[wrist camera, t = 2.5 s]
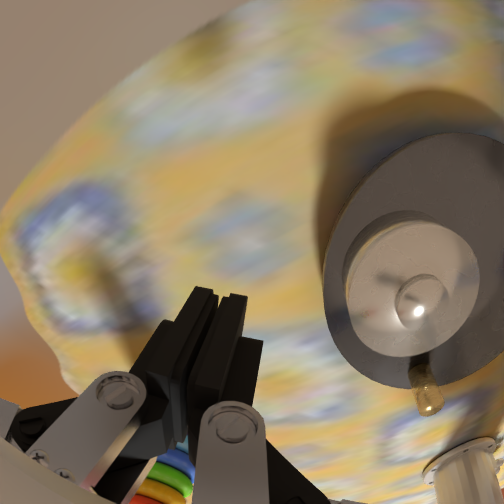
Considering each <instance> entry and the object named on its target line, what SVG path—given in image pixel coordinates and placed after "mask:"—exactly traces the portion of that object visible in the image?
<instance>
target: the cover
mask: <svg viewBox="0 0 504 504" xmlns="http://www.w3.org/2000/svg"><path fill="white" fill-rule="evenodd" d="M479 279H480V275H479V267H478V263H477V259H476V257H475V254H474V252H473V251H472V249H471V247H470V246H469V245H468V243H467V242H466V241H465V240H464V239H463V238H461V237H460V236H459V235H458V234H456V233H455V232H453V231H452V230H451V229H449V228H448V227H447V226H445V225H444V224H442V223H441V222H439V221H438V220H437V219H435V218H434V217H432V216H430V215H428V214H426V213H423V212H420V211H415V210H399V211H394V212H390V213H387V214H385V215H382V216H380V217H378V218H377V219H375V220H373V221H372V222H370V223H369V224H368V225H366V226H365V227H364V228H363V229H362V230H361V231H360V232H359V234H358V235H357V236H356V237H355V238H354V240H353V242H352V243H351V245H350V247H349V249H348V251H347V253H346V256H345V259H344V262H343V267H342V285H343V290H344V294H345V298H346V303H347V307H348V311H349V316H350V320H351V323H352V326H353V329H354V331H355V333H356V334H357V336H358V337H359V339H360V340H361V341H362V342H363V343H364V344H365V345H366V346H368V347H369V348H371V349H372V350H374V351H376V352H378V353H381V354H384V355H387V356H393V357H406V356H413V355H418V354H421V353H424V352H427V351H429V350H432V349H434V348H435V347H437V346H439V345H441V344H442V343H444V342H445V341H447V340H448V339H449V338H450V337H451V336H453V335H454V334H455V333H456V332H457V331H458V330H459V328H460V327H461V326H462V325H463V323H464V322H465V321H466V319H467V318H468V316H469V314H470V312H471V311H472V309H473V306H474V304H475V301H476V298H477V294H478V290H479Z"/></svg>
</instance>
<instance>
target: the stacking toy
mask: <svg viewBox="0 0 504 504" xmlns="http://www.w3.org/2000/svg"><path fill="white" fill-rule="evenodd" d="M194 477H195V467H194V466H193V464H192V463H191V462H190V460H189V454H188V433H187V436H186V439H185V441H184V443H180V442H177V445H176V448H175V450H172V449H168V451H167V453H165V454H162V455H159V456H157V460H156V462H155V464H154V465H153V467H152V468H151V470H150V472H149V473H148V475H147V476H146V478H145V479H144V481H143V483H142V484H141V486H140V487H139V489H138V490H137V492H136V493H135V495H134V496H133V498H132V499H131V501H130V503H129V504H186V501H185V499H184V498H185V497H188V496H189V495H190V494H191V493H192V490H193V485H192V484H193V483H194Z"/></svg>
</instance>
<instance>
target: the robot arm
mask: <svg viewBox="0 0 504 504" xmlns="http://www.w3.org/2000/svg"><path fill="white" fill-rule="evenodd" d="M247 299H248V296H243V295H238V294H233V293H230V296H229V297H225V296H223V298H222V300H221V302H220V305H219V307H218V300H219V296H218V295H215V294H213V289H208V288H203V287H198V286H196V287H195V288H194V290H193V291H192V293H191V294H190V296H189V298H188V299H187V301H186V303H185V304H184V306H183V308H182V309H181V311H180V313H179V314H178V316H177V317H176V319H175V321H174V322H173V321H169V320H163V321H162V322H161V323H160V325H159V326H158V328H157V329H156V331H155V332H154V334H153V335H152V337H151V338H150V340H149V341H148V343H147V344H146V346H145V348H144V349H143V351H142V352H141V354H140V355H139V357H138V359H137V360H136V362H135V363H134V365H133V366H132V368H131V370H130V371H129V373H128V372H123V371H113V372H108V373H105V374H103V375H101V376H99V377H98V378H97V379H95V380H94V381H93V382H92V383H91V384H90V385H89V387H88V388H87V389H86V390H85V391H84V392H83V393H82V394H81V395H80V396H79V397H76V398H72V399H68V400H63V401H59V402H54V403H49V404H45V405H39V406H34V407H29V408H26V409H21V407H20V405H17V404H15V403H12V402H9V401H6V400H4V399H1V398H0V504H129V503H130V501H131V499H132V498H133V496H134V495H135V493H136V492H137V490H138V489H139V487H140V486H141V484H142V483H143V481H144V479H145V478H146V476H147V475H148V473H149V472H150V470H151V468H152V467H153V465H154V464H155V462H156V460H157V456H159V455H162V454H165V453H167V451H168V449H172V450H175V448H176V445H177V442H180V443H184V441H185V439H186V436H187V433H188V454H189V460H190V462H191V463H192V464H193V466H194V467H195V477H194V486H193V496H192V504H366V503H360V502H354V501H349V500H344V499H342V500H341V501H335V500H331V499H328V498H327V497H326V496H325V495H324V494H323V493H322V492H321V491H320V490H319V489H317V488H316V487H315V486H314V485H313V484H312V483H311V482H310V481H309V480H308V479H306V478H305V477H304V476H303V475H302V474H301V473H300V472H299V471H298V470H297V469H296V468H295V467H294V466H293V465H292V464H291V463H290V462H289V461H288V460H286V459H285V458H284V457H283V456H282V455H281V454H280V453H279V452H278V451H277V450H276V449H275V448H274V447H273V446H272V445H271V443H270V442H269V441H268V440H267V439H266V433H265V424H264V420H263V418H262V416H261V415H260V414H259V412H258V411H256V410H255V409H254V408H253V407H252V404H253V398H254V393H255V387H256V382H257V376H258V370H259V364H260V359H261V353H262V347H263V340H257V339H252V338H247V337H242V332H243V325H244V319H245V312H246V306H247ZM495 449H496V443H495V440H494V439H493V438H490V437H484V438H479V439H475V440H472V441H469V442H467V443H464V444H462V445H460V446H458V447H456V448H454V449H452V450H450V451H449V452H447V453H445V454H444V455H442V456H441V457H439V458H438V459H436V460H435V461H434V462H432V463H431V464H430V465H429V466H428V467H427V468H426V469H425V471H424V472H423V475H422V478H423V482H424V483H425V484H427V485H434V487H435V492H436V497H437V503H438V504H504V500H503V496H502V492H501V489H500V486H499V482H498V479H497V476H496V474H497V473H498V472H499V470H500V466H501V465H503V463H504V460H503V458H500V459H497V460H495V459H494V456H493V453H494V451H495Z"/></svg>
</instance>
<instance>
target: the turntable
mask: <svg viewBox="0 0 504 504" xmlns="http://www.w3.org/2000/svg"><path fill="white" fill-rule="evenodd" d="M399 210H415V211H420V212H423V213H426V214H428V215H430V216H432V217H434V218H435V219H437V220H438V221H439V222H441V223H442V224H444V225H445V226H447V227H448V228H449V229H451V230H452V231H453V232H455V233H456V234H458V235H459V236H460V237H461V238H463V239H464V240H465V241H466V242H467V243H468V245H469V246H470V247H471V249H472V251H473V252H474V254H475V257H476V259H477V263H478V267H479V275H480V279H479V290H478V294H477V298H476V301H475V304H474V306H473V309H472V311H471V312H470V314H469V316H468V318H467V319H466V321H465V322H464V323H463V325H462V326H461V327H460V328H459V330H458V331H457V332H456V333H455V334H454V335H453V336H451V337H450V338H449V339H448V340H447V341H445V342H444V343H442V344H441V345H439V346H437V347H435V348H434V349H432V350H429V351H427V352H424V353H421V354H418V355H413V356H406V357H393V356H387V355H384V354H381V353H378V352H376V351H374V350H372V349H371V348H369V347H368V346H366V345H365V344H364V343H363V342H362V341H361V340H360V339H359V337H358V336H357V334H356V333H355V331H354V329H353V326H352V323H351V320H350V316H349V311H348V307H347V303H346V298H345V294H344V290H343V285H342V267H343V262H344V259H345V256H346V253H347V251H348V249H349V247H350V245H351V243H352V242H353V240H354V238H355V237H356V236H357V235H358V234H359V232H360V231H361V230H362V229H363V228H364V227H365V226H366V225H368V224H369V223H370V222H372V221H373V220H375V219H377V218H378V217H380V216H382V215H385V214H387V213H390V212H394V211H399ZM322 289H323V300H324V309H325V315H326V320H327V324H328V328H329V331H330V333H331V336H332V338H333V340H334V343H335V344H336V346H337V348H338V349H339V351H340V353H341V354H342V355H343V357H344V358H345V359H346V360H347V361H348V362H349V364H350V365H351V366H353V367H354V368H355V369H356V370H357V371H359V372H360V373H361V374H363V375H365V376H366V377H368V378H370V379H371V380H373V381H376V382H378V383H381V384H383V385H387V386H391V387H395V388H403V389H412V391H413V394H414V397H415V400H416V404H417V407H418V410H419V413H420V415H421V416H431V415H434V414H435V413H437V412H439V411H440V410H441V409H442V408H443V406H444V403H445V402H444V399H443V397H442V394H441V392H440V389H439V387H438V386H441V385H445V384H449V383H451V382H454V381H457V380H460V379H462V378H464V377H466V376H468V375H470V374H472V373H474V372H476V371H477V370H479V369H480V368H482V367H484V366H485V365H487V364H488V363H489V362H491V361H492V360H493V359H495V358H496V357H497V356H498V355H499V354H500V353H501V352H502V351H504V144H502V143H501V142H499V141H496V140H494V139H491V138H488V137H486V136H481V135H476V134H470V133H441V134H435V135H430V136H426V137H423V138H420V139H417V140H415V141H412V142H409V143H408V144H406V145H404V146H402V147H400V148H398V149H397V150H395V151H393V152H392V153H391V154H389V155H388V156H387V157H385V158H384V159H383V160H381V161H380V162H379V163H377V164H376V165H375V166H374V167H373V168H372V169H371V170H370V171H369V172H368V173H367V174H366V175H365V176H364V177H363V179H362V180H361V181H360V183H359V184H358V185H357V186H356V188H355V189H354V190H353V192H352V193H351V194H350V196H349V198H348V199H347V201H346V203H345V204H344V206H343V208H342V209H341V211H340V213H339V215H338V217H337V220H336V222H335V224H334V226H333V229H332V231H331V235H330V238H329V241H328V244H327V248H326V252H325V258H324V264H323V277H322Z"/></svg>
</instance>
